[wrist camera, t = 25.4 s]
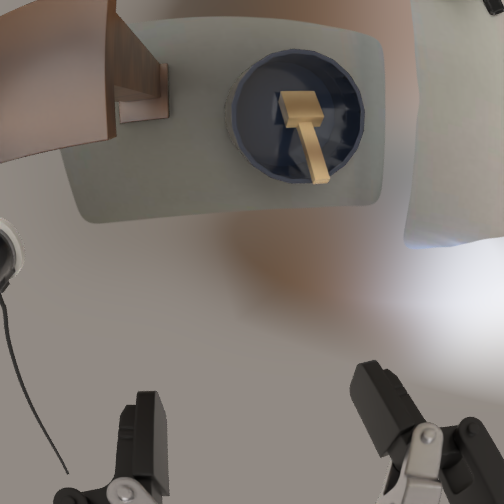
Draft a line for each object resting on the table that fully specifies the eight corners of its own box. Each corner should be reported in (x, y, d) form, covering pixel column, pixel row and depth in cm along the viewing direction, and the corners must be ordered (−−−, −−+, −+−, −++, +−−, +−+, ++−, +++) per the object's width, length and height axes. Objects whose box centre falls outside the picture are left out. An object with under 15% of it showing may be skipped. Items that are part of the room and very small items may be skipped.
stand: (169, 117, 40) (108, 140, 12) (122, 123, 39) (-11, 166, 11) (168, 64, 36) (110, -23, 8) (120, 70, 35) (-12, 22, 7)
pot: (333, 169, 47) (359, 183, 40) (225, 171, 45) (232, 186, 37) (336, 65, 40) (365, 59, 32) (224, 57, 37) (231, 45, 29)
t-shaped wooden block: (278, 102, 41) (280, 91, 38) (310, 101, 41) (314, 90, 39) (301, 185, 37) (306, 176, 35) (338, 182, 38) (344, 173, 36)
